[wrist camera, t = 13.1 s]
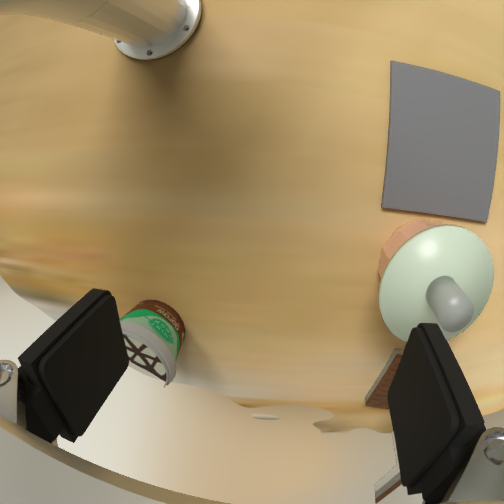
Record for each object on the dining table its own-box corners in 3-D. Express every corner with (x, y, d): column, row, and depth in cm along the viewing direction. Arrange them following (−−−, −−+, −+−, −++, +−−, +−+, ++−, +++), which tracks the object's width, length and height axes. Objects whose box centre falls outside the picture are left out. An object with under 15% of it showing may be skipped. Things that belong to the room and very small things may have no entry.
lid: (391, 217, 30) (409, 236, 24) (503, 232, 28) (530, 251, 22) (366, 338, 35) (373, 372, 30) (467, 340, 33) (484, 369, 28)
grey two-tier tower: (395, 348, 43) (439, 570, 11) (446, 358, 43) (508, 546, 11) (365, 397, 48) (376, 590, 16) (414, 403, 47) (444, 576, 15)
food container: (207, 323, 47) (185, 367, 38) (189, 346, 49) (167, 389, 40) (139, 277, 46) (105, 312, 36) (126, 304, 48) (94, 339, 39)
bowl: (387, 215, 36) (403, 233, 30) (466, 225, 35) (491, 243, 28) (371, 300, 41) (380, 329, 35) (445, 304, 39) (463, 331, 33)
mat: (390, 61, 29) (391, 60, 29) (497, 91, 27) (500, 91, 27) (381, 206, 36) (382, 207, 36) (484, 220, 34) (486, 222, 33)
